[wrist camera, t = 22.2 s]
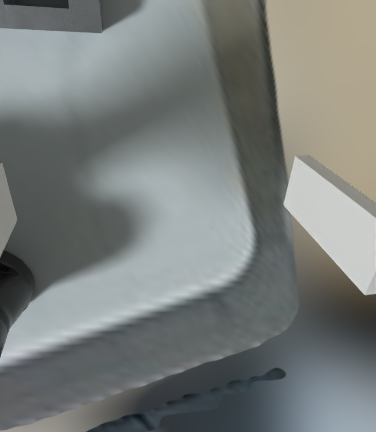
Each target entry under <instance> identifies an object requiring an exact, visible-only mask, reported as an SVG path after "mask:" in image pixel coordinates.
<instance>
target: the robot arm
mask: <svg viewBox="0 0 376 432" xmlns="http://www.w3.org/2000/svg"><path fill="white" fill-rule="evenodd" d="M284 206H285V207H286V208H287V209H288V210H289V212H290V213H291V214H292V215H293V216H294V217H295V218H296V219H297V220H298V221H299V223H300V224H301V225H302V226H303V227H304V228H305V229H306V230H307V231H308V233H309V234H310V235H311V236H312V237H313V238H314V239H315V240H316V241H317V243H318V244H319V245H320V246H321V247H322V248H323V249H324V250H325V251H326V253H327V254H328V255H329V256H330V257H331V258H332V259H333V260H334V261H335V263H336V264H337V265H338V266H339V267H340V268H341V269H342V270H343V271H344V272H345V274H346V275H347V276H348V277H349V278H350V279H351V280H352V281H353V282H354V284H355V285H356V286H357V287H358V288H359V289H360V290H361V291H362V292H363V294H364V295H368V294H376V203H375V202H374V201H372V200H371V199H370V198H368V197H367V196H365V195H364V194H363V193H361V192H360V191H358V190H357V189H356V188H354V187H353V186H351V185H350V184H349V183H347V182H346V181H344V180H343V179H342V178H340V177H339V176H337V175H336V174H334V173H333V172H332V171H330V170H329V169H327V168H326V167H325V166H323V165H322V164H320V163H319V162H318V161H316V160H315V159H313V158H312V157H311V156H295V159H294V163H293V167H292V172H291V176H290V180H289V184H288V188H287V193H286V197H285V201H284ZM16 222H17V216H16V212H15V209H14V205H13V201H12V197H11V194H10V190H9V186H8V182H7V178H6V175H5V171H4V167H3V163H0V357H1V353H2V350H3V347H4V344H5V341H6V338H7V334H8V331H9V329H10V327H11V326H12V325H13V324H14V322H15V321H16V320H17V319H18V317H19V316H20V315H21V313H22V312H23V311H24V310H25V309H26V308H27V306H28V305H29V303H30V300H31V297H32V294H33V291H34V278H33V275H32V273H31V271H30V270H29V268H28V267H27V266H26V265H25V264H24V263H23V262H22V261H21V260H20V259H18V258H17V257H15V256H14V255H12V254H10V253H8V252H5V251H3V250H4V248H5V246H6V244H7V242H8V240H9V237H10V235H11V233H12V231H13V229H14V227H15V224H16Z"/></svg>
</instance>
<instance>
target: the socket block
mask: <svg viewBox="0 0 376 432" xmlns="http://www.w3.org/2000/svg"><path fill="white" fill-rule="evenodd" d="M68 3H69V9H66V8H50V7H35V6H19V5H17V4H16V0H0V28H11V29H31V30H50V31H70V32H90V33H102V32H103V27H102V13H101V0H68Z"/></svg>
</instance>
